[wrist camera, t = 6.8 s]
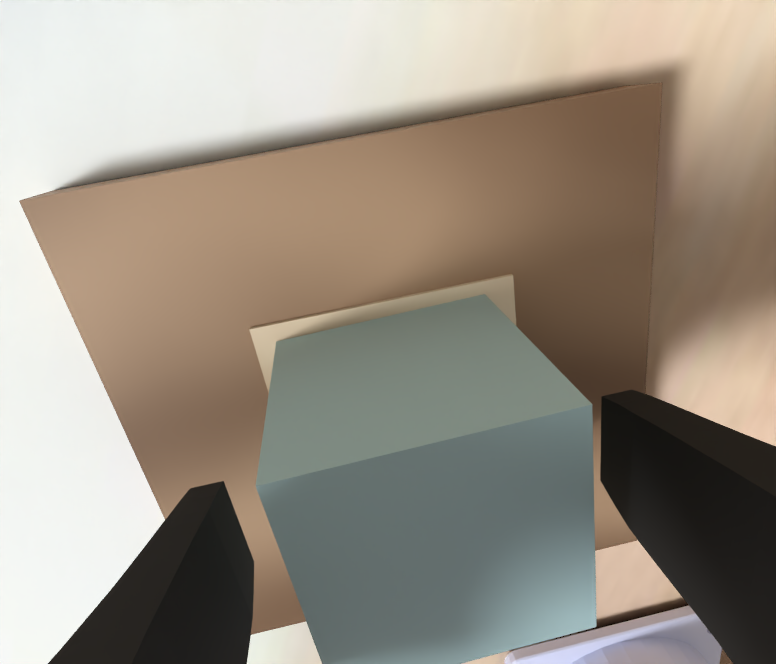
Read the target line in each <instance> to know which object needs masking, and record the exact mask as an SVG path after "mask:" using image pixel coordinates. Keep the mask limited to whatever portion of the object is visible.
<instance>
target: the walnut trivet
mask: <svg viewBox="0 0 776 664" xmlns="http://www.w3.org/2000/svg"><path fill="white" fill-rule="evenodd" d="M661 98H662V83H652V84H641V85H629V86H622V87H617V88H611V89H606V90H601V91H595V92H590V93H584V94H579V95H573V96H568V97H562V98H557V99H551V100H546V101H541V102H535V103H530V104H524V105H519V106H513V107H508V108H502V109H497V110H491V111H486V112H480V113H475V114H470V115H464V116H459V117H453V118H448V119H442V120H437V121H431V122H426V123H420V124H415V125H410V126H404V127H399V128H393V129H388V130H382V131H377V132H371V133H366V134H360V135H355V136H350V137H344V138H339V139H333V140H328V141H322V142H317V143H311V144H306V145H300V146H295V147H290V148H284V149H279V150H273V151H268V152H262V153H257V154H251V155H246V156H240V157H235V158H230V159H224V160H219V161H213V162H208V163H202V164H197V165H191V166H186V167H180V168H175V169H170V170H164V171H159V172H153V173H148V174H142V175H137V176H131V177H126V178H120V179H115V180H110V181H104V182H99V183H93V184H88V185H82V186H77V187H71V188H66V189H60V190H55V191H50V192H47V193H43V194H40V195H37V196H33V197H30V198H27V199H23V200H20V201H19V202H20V204H21V206H22V208H23V210H24V212H25V215H26V217H27V219H28V221H29V223H30V226H31V228H32V230H33V232H34V234H35V236H36V239H37V241H38V243H39V245H40V247H41V250H42V252H43V254H44V256H45V258H46V260H47V263H48V265H49V267H50V269H51V271H52V274H53V276H54V278H55V280H56V282H57V284H58V287H59V289H60V291H61V293H62V295H63V298H64V300H65V302H66V304H67V306H68V308H69V311H70V313H71V315H72V317H73V319H74V322H75V324H76V326H77V328H78V330H79V332H80V335H81V337H82V339H83V341H84V343H85V346H86V348H87V350H88V352H89V354H90V356H91V359H92V361H93V363H94V365H95V367H96V370H97V372H98V374H99V376H100V378H101V381H102V383H103V385H104V387H105V389H106V391H107V394H108V396H109V398H110V400H111V402H112V405H113V407H114V409H115V411H116V413H117V415H118V418H119V420H120V422H121V424H122V426H123V429H124V431H125V433H126V435H127V437H128V439H129V442H130V444H131V446H132V448H133V450H134V453H135V455H136V457H137V459H138V461H139V463H140V466H141V468H142V470H143V472H144V474H145V477H146V479H147V481H148V483H149V485H150V487H151V490H152V492H153V494H154V496H155V498H156V501H157V503H158V505H159V507H160V509H161V511H162V514H163V516H164V518H165V520H166V518H167V517H168V516H169V514H170V513H171V512H172V511H173V509H174V508H175V507H176V505H177V504H178V503H179V501H180V500H181V499H182V498H183V496H184V495H185V494H186V493H187V491H188V490H189V489H190V488H194V487H198V486H203V485H207V484H212V483H216V482H221V481H224V483H225V486H226V488H227V491H228V494H229V496H230V499H231V502H232V504H233V507H234V510H235V512H236V515H237V518H238V520H239V523H240V525H241V528H242V531H243V533H244V536H245V539H246V541H247V544H248V547H249V549H250V552H251V555H252V557H253V560H254V599H253V620H252V628H251V635H252V634H256V633H260V632H264V631H268V630H272V629H276V628H280V627H284V626H288V625H292V624H297V623H301V622H305V621H306V619H305V616H304V614H303V611H302V608H301V606H300V603H299V600H298V598H297V595H296V592H295V590H294V587H293V584H292V582H291V579H290V576H289V574H288V571H287V568H286V566H285V563H284V560H283V558H282V555H281V553H280V550H279V547H278V545H277V542H276V539H275V537H274V534H273V531H272V529H271V526H270V523H269V521H268V518H267V515H266V513H265V510H264V507H263V505H262V502H261V499H260V497H259V494H258V492H257V489H256V479H257V472H258V465H259V458H260V452H261V445H262V438H263V431H264V424H265V417H266V410H267V403H268V396H269V389H270V382H271V375H272V368H273V361H274V354H275V347H276V341H281V340H285V339H290V338H294V337H298V336H303V335H307V334H312V333H316V332H320V331H325V330H329V329H334V328H338V327H342V326H347V325H351V324H355V323H360V322H364V321H369V320H373V319H377V318H382V317H386V316H391V315H395V314H399V313H404V312H408V311H413V310H417V309H421V308H426V307H430V306H434V305H439V304H443V303H448V302H452V301H456V300H461V299H465V298H470V297H474V296H478V295H483V294H485V295H486V296H487V297H488V298H489V299H490V300H491V301H492V302H493V303H494V304H495V305H496V306H497V307H498V308H499V309H500V310H501V311H502V312H503V313H504V314H505V315H506V316H507V317H508V318H509V319H510V320H511V321H512V322H513V323H514V324H515V325H516V326H517V327H518V329H519V330H520V331H521V332H522V333H523V334H524V335H525V336H526V337H527V338H528V339H529V340H530V341H531V342H532V343H533V344H534V345H535V346H536V347H537V348H538V349H539V350H540V351H541V352H542V353H543V354H544V355H545V356H546V357H547V358H548V359H549V360H550V361H551V362H552V363H553V364H554V365H555V367H556V368H557V369H558V370H559V371H560V372H561V373H562V374H563V375H564V376H565V377H566V378H567V379H568V380H569V381H570V382H571V383H572V384H573V385H574V386H575V387H576V388H577V389H578V390H579V391H580V392H581V393H582V394H583V395H584V396H585V397H586V398H587V399H588V400H589V401H590V402H591V403H592V414H593V468H594V521H595V551H596V550H600V549H604V548H608V547H612V546H616V545H620V544H624V543H628V542H632V541H637V538H636V537H635V535H634V534H633V533H632V531H631V530H630V529H629V528H628V526H627V524H626V523H625V521H624V520H623V518H622V516H621V515H620V513H619V511H618V510H617V508H616V507H615V505H614V503H613V501H612V500H611V498H610V496H609V495H608V493H607V491H606V489H605V488H604V486H603V484H602V482H601V481H600V463H601V396H605V395H609V394H614V393H618V392H623V391H627V390H635V391H638V392H641V393H644V394H645V385H646V367H647V349H648V331H649V313H650V295H651V277H652V260H653V242H654V224H655V206H656V188H657V170H658V152H659V134H660V116H661Z"/></svg>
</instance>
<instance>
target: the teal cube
mask: <svg viewBox="0 0 776 664" xmlns="http://www.w3.org/2000/svg"><path fill="white" fill-rule="evenodd" d="M256 489H257V492H258V494H259V497H260V499H261V502H262V505H263V507H264V510H265V513H266V515H267V518H268V521H269V523H270V526H271V529H272V531H273V534H274V537H275V539H276V542H277V545H278V547H279V550H280V553H281V555H282V558H283V560H284V563H285V566H286V568H287V571H288V574H289V576H290V579H291V582H292V584H293V587H294V590H295V592H296V595H297V598H298V600H299V603H300V606H301V608H302V611H303V614H304V616H305V619H306V622H307V624H308V627H309V629H310V632H311V635H312V637H313V640H314V643H315V645H316V648H317V651H318V653H319V656H320V659H321V661H322V664H461V663H464V662H468V661H472V660H476V659H479V658H483V657H487V656H490V655H494V654H498V653H502V652H505V651H509V650H513V649H517V648H520V647H524V646H528V645H531V644H535V643H539V642H543V641H546V640H550V639H554V638H557V637H561V636H565V635H569V634H572V633H576V632H580V631H583V630H587V629H591V628H595V627H596V575H595V521H594V468H593V414H592V403H591V402H590V401H589V400H588V399H587V398H586V397H585V396H584V395H583V394H582V393H581V392H580V391H579V390H578V389H577V388H576V387H575V386H574V385H573V384H572V383H571V382H570V381H569V380H568V379H567V378H566V377H565V376H564V375H563V374H562V373H561V372H560V371H559V370H558V369H557V368H556V367H555V365H554V364H553V363H552V362H551V361H550V360H549V359H548V358H547V357H546V356H545V355H544V354H543V353H542V352H541V351H540V350H539V349H538V348H537V347H536V346H535V345H534V344H533V343H532V342H531V341H530V340H529V339H528V338H527V337H526V336H525V335H524V334H523V333H522V332H521V331H520V330H519V329H518V327H517V326H516V325H515V324H514V323H513V322H512V321H511V320H510V319H509V318H508V317H507V316H506V315H505V314H504V313H503V312H502V311H501V310H500V309H499V308H498V307H497V306H496V305H495V304H494V303H493V302H492V301H491V300H490V299H489V298H488V297H487V296H486V295H485V294H483V295H478V296H474V297H470V298H465V299H461V300H456V301H452V302H448V303H443V304H439V305H434V306H430V307H426V308H421V309H417V310H413V311H408V312H404V313H399V314H395V315H391V316H386V317H382V318H377V319H373V320H369V321H364V322H360V323H355V324H351V325H347V326H342V327H338V328H334V329H329V330H325V331H320V332H316V333H312V334H307V335H303V336H298V337H294V338H290V339H285V340H281V341H276V347H275V354H274V361H273V368H272V375H271V382H270V389H269V396H268V403H267V410H266V417H265V424H264V431H263V438H262V445H261V452H260V458H259V465H258V472H257V479H256Z"/></svg>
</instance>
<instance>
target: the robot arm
mask: <svg viewBox="0 0 776 664" xmlns="http://www.w3.org/2000/svg"><path fill="white" fill-rule="evenodd" d="M600 481H601V482H602V484H603V486H604V488H605V489H606V491H607V493H608V495H609V496H610V498H611V500H612V501H613V503H614V505H615V507H616V508H617V510H618V511H619V513H620V515H621V516H622V518H623V520H624V521H625V523H626V524H627V526H628V528H629V529H630V530H631V531H632V533H633V534H634V535H635V537H636V538H637V539H638V541H639V542H640V543H641V545H642V546H643V547H644V548H645V550H646V551H647V552H648V554H649V555H650V556H651V558H652V559H653V560H654V561H655V563H656V564H657V565H658V567H659V568H660V569H661V570H662V572H663V573H664V574H665V575H666V577H667V578H668V579H669V581H670V582H671V583H672V584H673V586H674V587H675V588H676V589H677V591H678V592H679V593H680V595H681V596H682V597H683V598H684V600H685V601H686V602H687V603H688V606H684V607H680V608H677V609H673V610H669V611H665V612H661V613H657V614H653V615H649V616H645V617H641V618H637V619H633V620H629V621H625V622H622V623H618V624H614V625H610V626H606V627H602V628H598V629H594V630H590V631H586V632H582V633H578V634H574V635H570V636H567V637H563V638H559V639H555V640H551V641H547V642H543V643H539V644H535V645H531V646H527V647H523V648H519V649H516V650H513V651H512V652H510V653H509V654H508V655H507V656H506V658H505V662H504V663H505V664H719V663H720V657H721V651H722V649H723V650H724V651H725V653H726V654H727V655H728V657H729V658H730V660H731V661H732V662H733V664H776V446H773V445H770V444H768V443H765V442H763V441H760V440H757V439H755V438H752V437H750V436H747V435H745V434H742V433H740V432H737V431H735V430H733V429H730V428H728V427H725V426H723V425H720V424H718V423H715V422H713V421H711V420H708V419H706V418H703V417H701V416H699V415H696V414H694V413H691V412H689V411H686V410H684V409H682V408H679V407H677V406H674V405H672V404H669V403H667V402H665V401H662V400H660V399H657V398H654V397H652V396H649V395H647V394H644V393H641V392H638V391H635V390H627V391H623V392H618V393H614V394H609V395H605V396H601V463H600ZM253 599H254V560H253V557H252V555H251V552H250V549H249V547H248V544H247V541H246V539H245V536H244V533H243V531H242V528H241V525H240V523H239V520H238V518H237V515H236V512H235V510H234V507H233V504H232V502H231V499H230V496H229V494H228V491H227V488H226V486H225V483H224V481H221V482H216V483H212V484H207V485H203V486H198V487H194V488H190V489H189V490H188V491H187V493H186V494H185V495H184V496H183V498H182V499H181V500H180V501H179V503H178V504H177V505H176V507H175V508H174V509H173V511H172V512H171V513H170V514H169V516H168V517H167V518H166V520H165V521H164V522H163V524H162V525H161V526H160V528H159V529H158V530H157V532H156V533H155V534H154V536H153V537H152V538H151V540H150V541H149V542H148V543H147V545H146V546H145V547H144V549H143V550H142V551H141V552H140V554H139V555H138V556H137V558H136V559H135V560H134V561H133V563H132V564H131V565H130V566H129V568H128V569H127V570H126V572H125V573H124V574H123V575H122V577H121V578H120V579H119V581H118V582H117V583H116V584H115V586H114V587H113V588H112V589H111V590H110V592H109V593H108V594H107V595H106V596H105V598H104V599H103V600H102V601H101V602H100V603H99V605H98V606H97V607H96V608H95V609H94V611H93V612H92V613H91V614H90V615H89V616H88V618H87V619H86V620H85V621H84V622H83V624H82V625H81V626H80V627H79V628H78V629H77V631H76V632H75V633H74V634H73V635H72V637H71V638H70V639H69V640H68V641H67V642H66V644H65V645H64V646H63V647H62V648H61V650H60V651H59V652H58V653H57V654H56V655H55V656H54V657H53V659H52V660H51V661H50V662H49V663H48V664H247V657H248V650H249V643H250V635H251V628H252V620H253Z"/></svg>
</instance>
